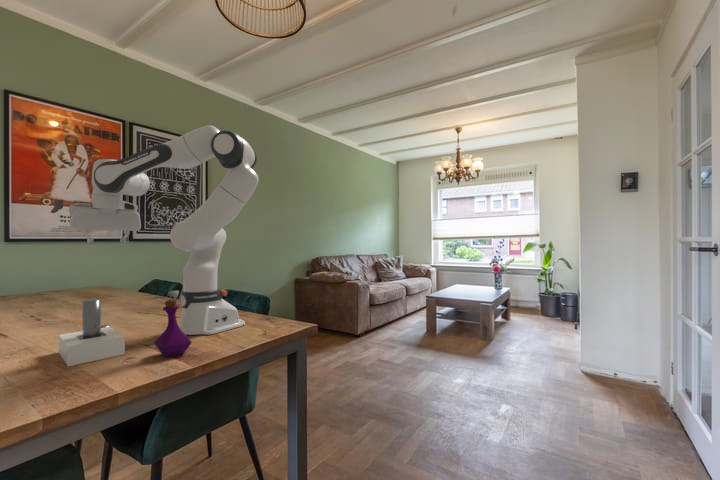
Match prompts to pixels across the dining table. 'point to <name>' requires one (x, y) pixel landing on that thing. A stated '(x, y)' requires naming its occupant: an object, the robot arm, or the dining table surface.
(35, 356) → the dining table surface
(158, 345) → the perfume bottle
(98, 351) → the guide block
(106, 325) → the short pin
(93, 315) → the tall pin
